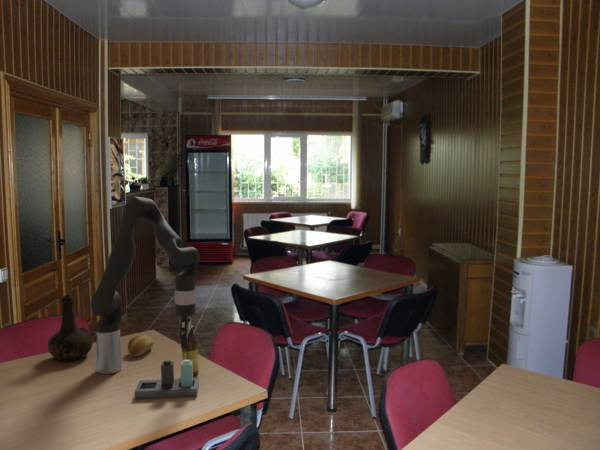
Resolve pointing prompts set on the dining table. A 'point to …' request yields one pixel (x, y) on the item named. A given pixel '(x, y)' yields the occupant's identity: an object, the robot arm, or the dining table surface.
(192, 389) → the gray slotted rack
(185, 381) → the plug
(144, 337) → the bread roll
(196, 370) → the sauce bottle
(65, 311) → the glass bottle
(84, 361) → the dining table surface
